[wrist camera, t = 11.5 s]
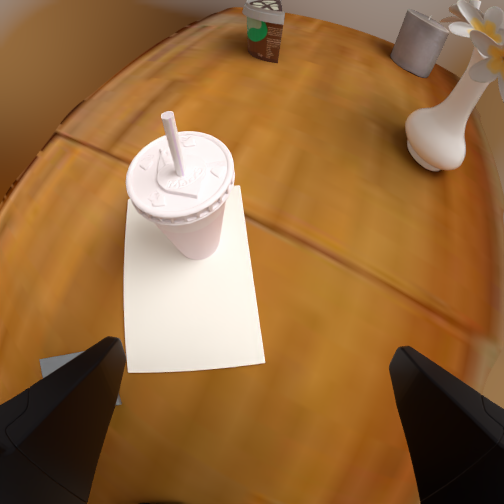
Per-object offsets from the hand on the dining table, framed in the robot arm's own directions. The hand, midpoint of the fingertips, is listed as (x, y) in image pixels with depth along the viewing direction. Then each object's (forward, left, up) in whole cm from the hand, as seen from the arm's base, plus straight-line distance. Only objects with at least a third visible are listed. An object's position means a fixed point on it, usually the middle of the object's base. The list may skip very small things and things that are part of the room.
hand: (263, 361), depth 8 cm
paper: (+8, +4, -14) cm, 16 cm away
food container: (+46, -8, -14) cm, 48 cm away
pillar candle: (+49, -42, -14) cm, 66 cm away
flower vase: (+20, -27, -14) cm, 36 cm away
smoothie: (+10, +3, -13) cm, 17 cm away
